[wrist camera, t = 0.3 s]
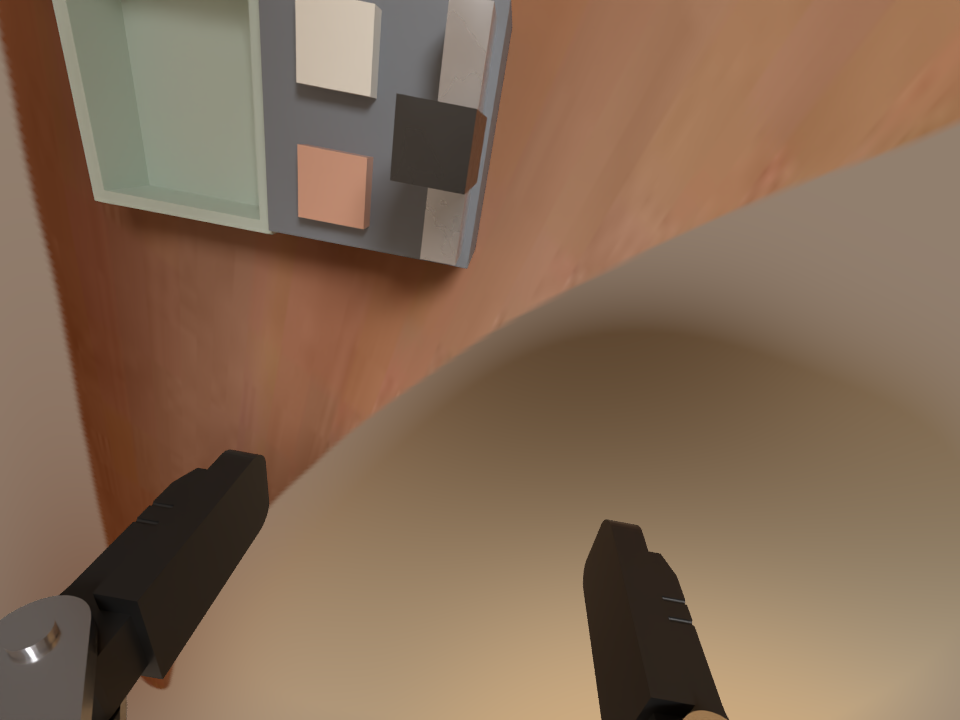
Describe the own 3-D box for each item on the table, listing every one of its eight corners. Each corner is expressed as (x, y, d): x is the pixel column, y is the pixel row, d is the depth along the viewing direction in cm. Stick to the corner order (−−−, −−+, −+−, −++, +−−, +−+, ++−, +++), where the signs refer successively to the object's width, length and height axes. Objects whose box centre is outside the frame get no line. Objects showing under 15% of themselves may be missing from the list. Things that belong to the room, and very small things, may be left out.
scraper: (449, 11, 23) (408, -69, 14) (506, 22, 23) (500, -51, 14) (423, 244, 28) (381, 288, 19) (469, 253, 28) (448, 301, 19)
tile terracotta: (306, 144, 26) (297, 144, 25) (373, 157, 26) (367, 157, 25) (306, 214, 28) (298, 216, 27) (369, 225, 28) (363, 229, 27)
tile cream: (305, -5, 23) (295, -12, 22) (381, 10, 23) (374, 3, 22) (306, 85, 24) (296, 82, 23) (376, 98, 25) (370, 96, 23)
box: (110, -63, 27) (30, -103, 23) (302, -25, 27) (260, -58, 23) (150, 193, 34) (94, 200, 29) (304, 222, 34) (272, 234, 29)
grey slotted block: (307, -14, 27) (256, -52, 22) (512, 26, 27) (510, -2, 22) (308, 216, 34) (268, 230, 28) (475, 248, 34) (467, 268, 28)
